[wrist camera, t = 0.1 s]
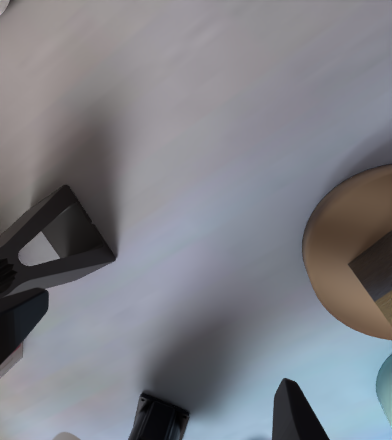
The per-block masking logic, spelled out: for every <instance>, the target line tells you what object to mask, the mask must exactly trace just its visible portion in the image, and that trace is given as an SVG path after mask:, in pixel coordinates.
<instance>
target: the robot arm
mask: <svg viewBox="0 0 392 440" xmlns="http://www.w3.org/2000/svg"><path fill="white" fill-rule="evenodd" d="M48 306H49V293H48V291H47V290H45V289H43V288H40V287H36V288H32V289H29V290H25V291H22V292H19V293H15V294H12V295H9V296H5V297H2V298H0V365H1V364H2V363H3V362H4V361H5V360H6V359H7V358H8V357H9V356H10V355H11V354H12V353H13V352H14V351H15V350H16V348H17V347H18V346H19V345H20V344H21V343H22V342H23V340H24V339H25V338H26V337H27V335H28V334H29V333H30V332H31V331H32V329H33V328H34V327H35V326H36V325H37V323H38V322H39V321H40V320H41V319H42V317H43V316H44V315H45V314H46V312H47V310H48ZM188 419H189V413H188V412H187V411H185V410H182V409H180V408H178V407H175V406H173V405H170V404H168V403H165V402H163V401H160V400H158V399H155V398H153V397H150V396H148V395H145V394H141V395H140V398H139V401H138V406H137V411H136V416H135V421H134V425H133V429H132V431H131V434H130V436H129V438H128V440H182V437H183V434H184V431H185V428H186V425H187V422H188ZM272 440H330V439H329V438H328V436H327V434H326V432H325V431H324V429H323V427H322V425H321V424H320V422H319V420H318V418H317V417H316V415H315V413H314V411H313V410H312V408H311V406H310V404H309V403H308V401H307V399H306V397H305V396H304V394H303V392H302V390H301V389H300V387H299V385H298V384H297V383H296V382H295V381H292V380H290V379H287V378H284V379H283V380H282V381H281V383H280V385H279V387H278V389H277V391H276V393H275V397H274V408H273V429H272Z"/></svg>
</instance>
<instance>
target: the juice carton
mask: <svg viewBox="0 0 392 440" xmlns="http://www.w3.org/2000/svg"><path fill="white" fill-rule="evenodd" d="M22 357H23V342H22V343H21V344H20V345H19V346H18V347H17V348H16V350H15V351H14V352H13V353H12V354H11V355H10V356H9V357H8V358H7V359H6V360H5V361H4V362H3V363H2V364H1V365H0V378H1V377H2V376H3V375H4V374H6V373H7V372H8V371H9V370H10V369H11V368H12V367H13V366H14V365H15V364H16V363H17V362H18V361H19V360H20V359H21V358H22Z"/></svg>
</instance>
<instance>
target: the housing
mask: <svg viewBox="0 0 392 440" xmlns="http://www.w3.org/2000/svg"><path fill="white" fill-rule="evenodd" d="M348 265H349V267H350V268H351V270H352V271H353V273H354V274H355V275H356V277H357V278H358V280H359V281H360V282H361V284H362V285H363V287H364V288H365V289H366V291H367V292H368V294H369V295H370V297H371V298H372V299H373V301H374V302H375V304H376V305H377V306H378V308H379V309H380V311H381V312H382V313H383V315H384V316H385V318H386V319H387V321H388V322H389V323H390V325H391V326H392V230H391V231H390V232H388V233H387V234H386V235H384V236H383V237H382V238H381V239H379V240H378V241H377V242H375V243H374V244H373V245H372V246H370V247H369V248H368V249H366V250H365V251H364V252H363V253H361V254H360V255H359V256H357V257H356V258H355V259H354V260H352V261H351V262H350V263H348Z"/></svg>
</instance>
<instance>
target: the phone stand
mask: <svg viewBox="0 0 392 440" xmlns="http://www.w3.org/2000/svg"><path fill="white" fill-rule="evenodd" d="M91 222H92V221H91V219H90V217H89V216H88V214H87V213H86V211H85V210H84V208H83V207H82V205H81V204H80V202H79V201H78V199H77V198H76V196H75V195H74V193H73V192H72V190H71V189H70V187H69V186H68V185H63V186H62V187H60V188H59V189H58V190H56V191H55V192H53V193H52V194H51V195H49V196H48V197H46V198H45V199H43V200H42V201H41V202H39V203H38V204H36V205H35V206H33V207H32V208H31V209H29V210H28V211H26V212H25V213H24V214H23V215H22V216H21V217H20V218H19V219H18V220H17V221H16V222H15V223H14V224H12V225H11V226H10V227H9V228H8V229H7V230H6V231H5V232H4V233H3V234H2V235H1V236H0V298H2V297H5V296H9V295H12V294H15V293H19V292H22V291H25V290H29V289H32V288H36V287H40V288H43V289H46V288H50V287H54V286H57V285H61V284H65V283H68V282H72V281H75V280H78V279H80V278H82V277H84V276H86V275H88V274H90V273H92V272H94V271H96V270H98V269H100V268H102V267H104V266H106V265H108V264H110V263H112V262H114V261H115V260H116V257H115V256H114V254H113V252H112V251H111V249H110V248H109V246H108V245H107V243H106V242H105V240H104V239H103V237H102V236H101V234H100V233H99V231H98V230H97V228H96V227H95V225H94V224H92V223H91ZM41 231H42V233H43V234H44V235H45V237H46V238H47V240H48V241H49V243H50V244H51V245H52V247H53V248H54V250H55V251H56V253H57V254H58V255H59V257H60V258H61V259H57V260H53V261H49V262H46V263H42V264H38V265H34V266H25V265H23V264H22V263H21V262H20V261H19V259H18V252H19V251H20V250H21V249H22V248H23V247H24V246H25V245H26V244H27V243H28V242H29V241H31V240H32V239H33V238H34V237H35V236H36V235H37V234H38V233H39V232H41Z"/></svg>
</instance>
